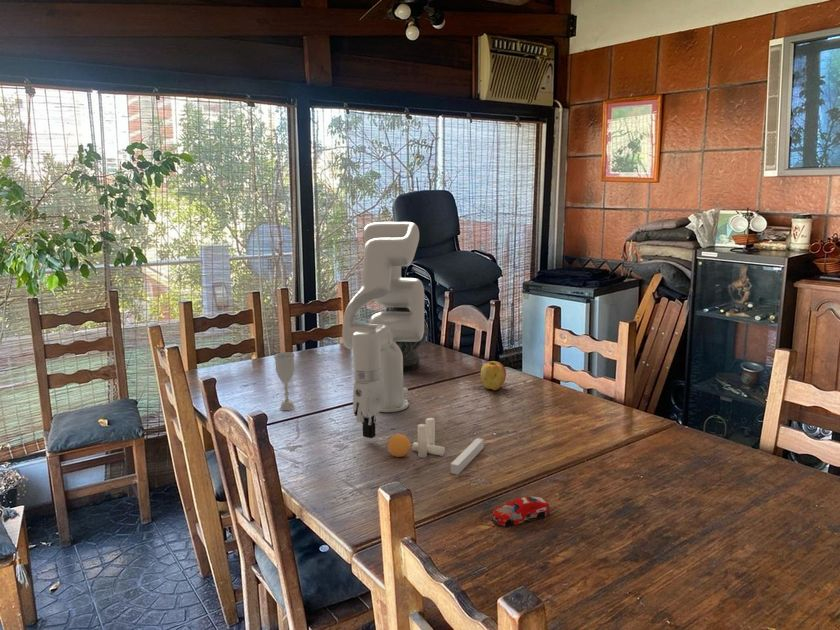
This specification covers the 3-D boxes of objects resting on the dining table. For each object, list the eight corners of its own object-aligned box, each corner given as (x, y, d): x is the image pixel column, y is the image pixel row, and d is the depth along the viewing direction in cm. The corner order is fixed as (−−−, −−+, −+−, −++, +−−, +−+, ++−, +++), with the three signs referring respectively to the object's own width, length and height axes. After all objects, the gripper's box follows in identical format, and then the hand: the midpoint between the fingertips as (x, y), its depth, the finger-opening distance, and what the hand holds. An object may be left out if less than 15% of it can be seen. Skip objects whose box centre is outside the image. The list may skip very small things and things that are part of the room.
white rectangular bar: (476, 446, 172) (476, 438, 171) (483, 447, 171) (483, 439, 171) (450, 473, 156) (450, 463, 156) (458, 474, 155) (458, 465, 155)
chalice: (292, 412, 201) (289, 358, 197) (273, 411, 202) (269, 357, 199) (301, 404, 208) (298, 352, 204) (282, 403, 209) (279, 351, 206)
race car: (499, 531, 130) (499, 513, 129) (487, 518, 135) (487, 501, 134) (553, 518, 135) (554, 501, 134) (540, 506, 140) (540, 490, 139)
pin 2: (428, 446, 173) (428, 417, 171) (436, 447, 172) (436, 418, 170) (424, 449, 170) (424, 420, 169) (432, 451, 169) (432, 421, 168)
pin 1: (420, 453, 168) (420, 423, 166) (428, 454, 167) (428, 424, 165) (416, 456, 166) (416, 426, 164) (424, 458, 165) (424, 427, 163)
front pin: (416, 440, 171) (444, 445, 167) (416, 448, 171) (444, 453, 168) (412, 444, 169) (440, 449, 165) (412, 452, 169) (441, 457, 166)
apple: (511, 389, 220) (511, 362, 218) (491, 394, 215) (492, 366, 213) (494, 383, 228) (494, 356, 226) (475, 387, 223) (475, 360, 221)
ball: (417, 445, 168) (401, 431, 170) (411, 442, 162) (395, 427, 165) (402, 463, 167) (387, 448, 170) (396, 460, 162) (380, 445, 164)
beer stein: (378, 361, 259) (376, 302, 254) (424, 359, 261) (423, 300, 256) (379, 373, 243) (378, 310, 238) (429, 370, 245) (428, 308, 240)
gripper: (364, 383, 164) (367, 448, 168) (391, 368, 178) (393, 429, 181) (340, 380, 168) (343, 444, 171) (369, 366, 181) (371, 425, 185)
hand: (369, 436), depth 176 cm, fingers closed
